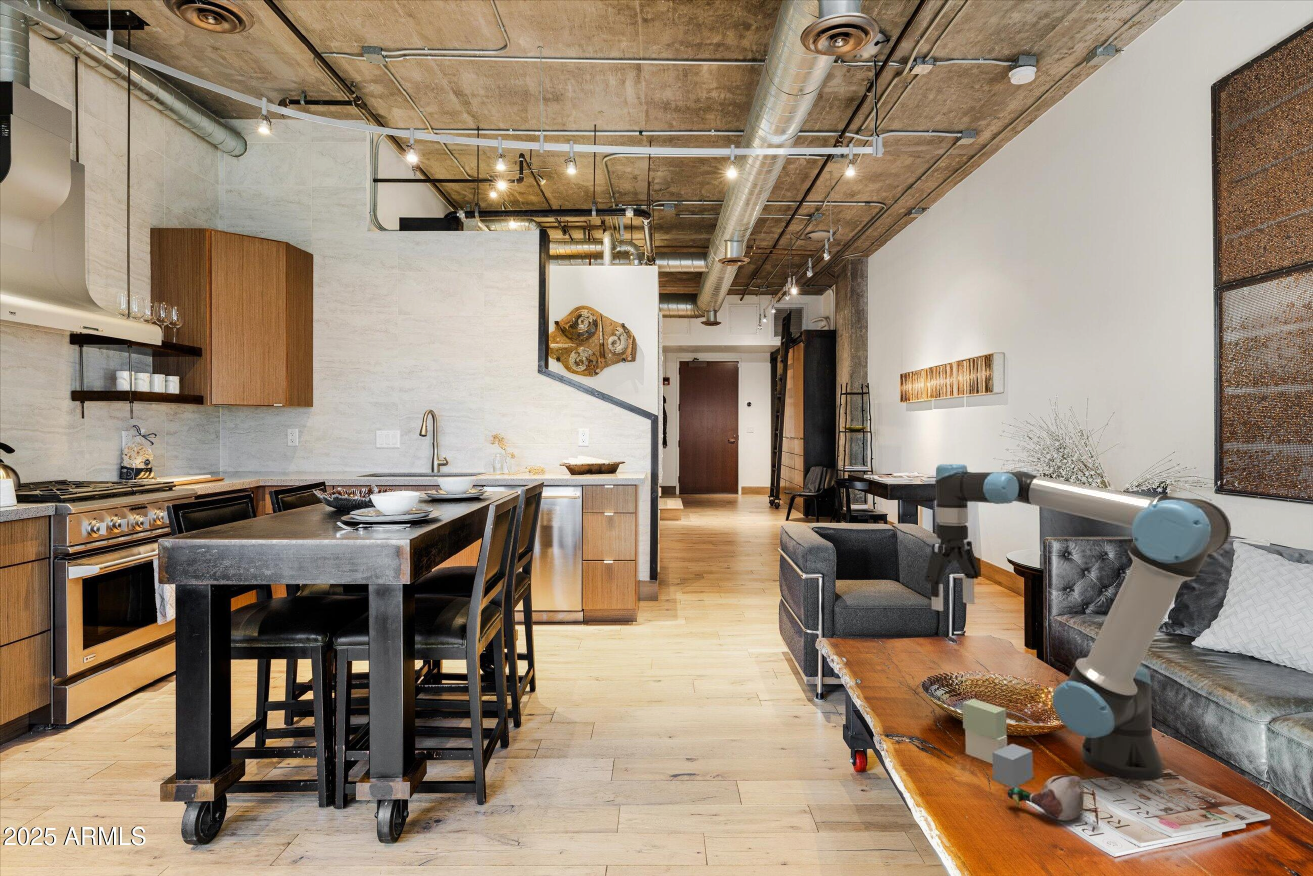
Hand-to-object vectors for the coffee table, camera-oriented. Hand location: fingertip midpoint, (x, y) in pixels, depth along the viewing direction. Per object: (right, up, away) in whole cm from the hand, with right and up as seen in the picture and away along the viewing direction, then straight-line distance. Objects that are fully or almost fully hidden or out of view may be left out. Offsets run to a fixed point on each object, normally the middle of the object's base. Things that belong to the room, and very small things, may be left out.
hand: (953, 606), depth 172 cm
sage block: (0, -25, -16) cm, 30 cm away
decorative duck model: (+2, -31, -40) cm, 50 cm away
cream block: (0, -31, -16) cm, 35 cm away
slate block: (+1, -31, -26) cm, 41 cm away
